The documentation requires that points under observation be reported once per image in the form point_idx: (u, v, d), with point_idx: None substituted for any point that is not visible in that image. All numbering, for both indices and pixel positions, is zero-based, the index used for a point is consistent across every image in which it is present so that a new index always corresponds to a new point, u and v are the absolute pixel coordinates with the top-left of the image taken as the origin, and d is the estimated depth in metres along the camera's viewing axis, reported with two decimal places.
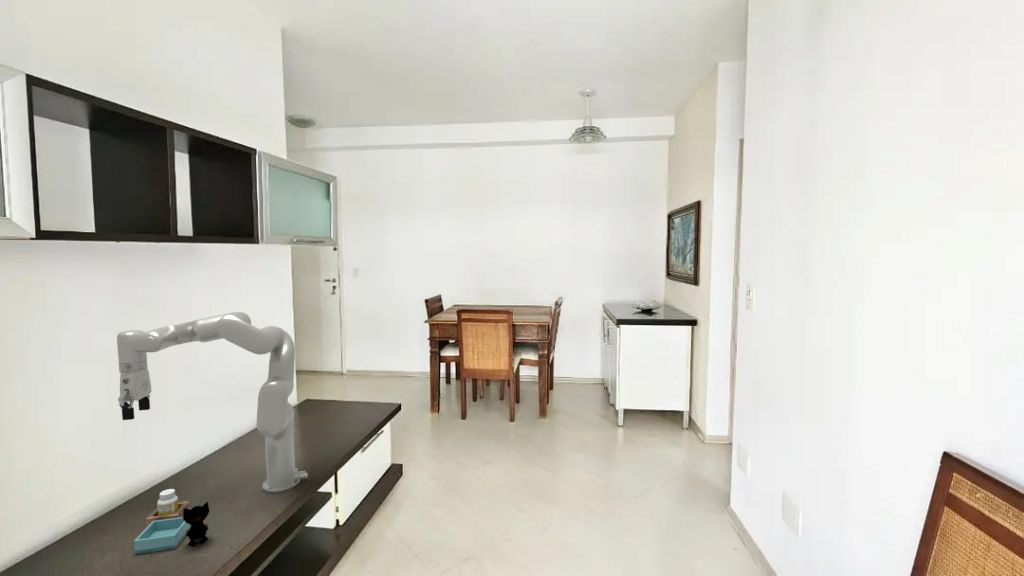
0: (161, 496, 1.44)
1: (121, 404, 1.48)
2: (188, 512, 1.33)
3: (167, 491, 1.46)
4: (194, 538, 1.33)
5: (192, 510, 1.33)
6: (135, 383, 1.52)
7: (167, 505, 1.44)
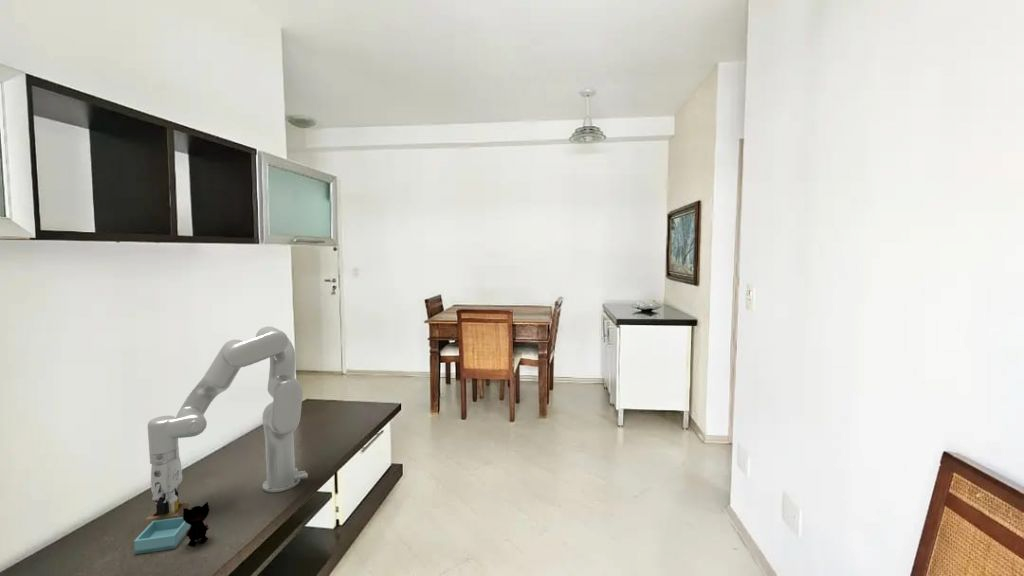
0: (161, 496, 1.44)
1: None
2: (188, 512, 1.33)
3: None
4: (194, 538, 1.33)
5: (192, 510, 1.33)
6: (167, 475, 1.42)
7: None
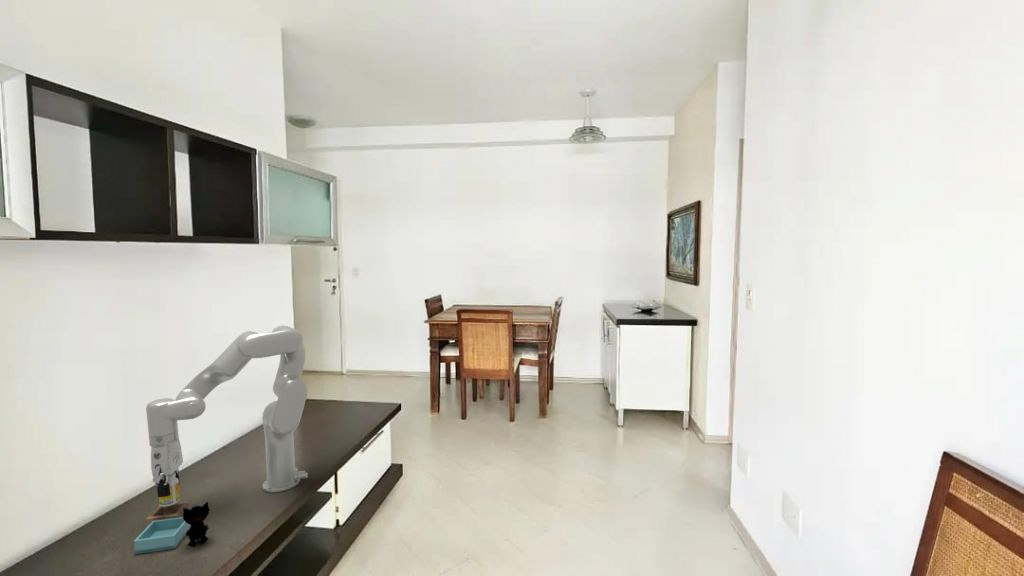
0: (162, 478, 1.44)
1: None
2: (188, 512, 1.33)
3: None
4: (194, 538, 1.33)
5: (192, 510, 1.33)
6: (167, 457, 1.42)
7: None
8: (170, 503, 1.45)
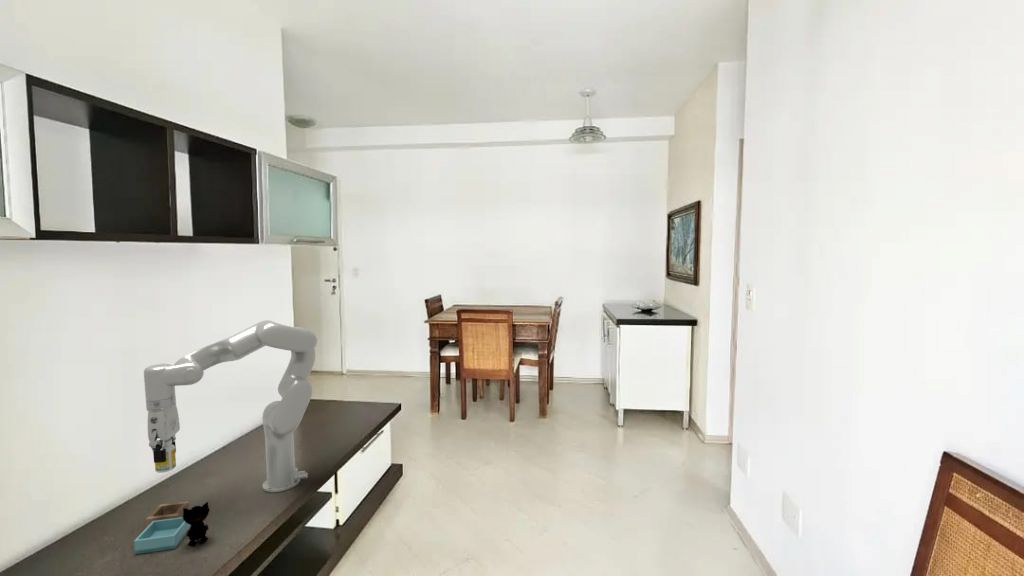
0: None
1: None
2: (188, 512, 1.33)
3: None
4: (194, 538, 1.33)
5: (192, 510, 1.33)
6: (164, 422, 1.41)
7: None
8: (166, 469, 1.43)
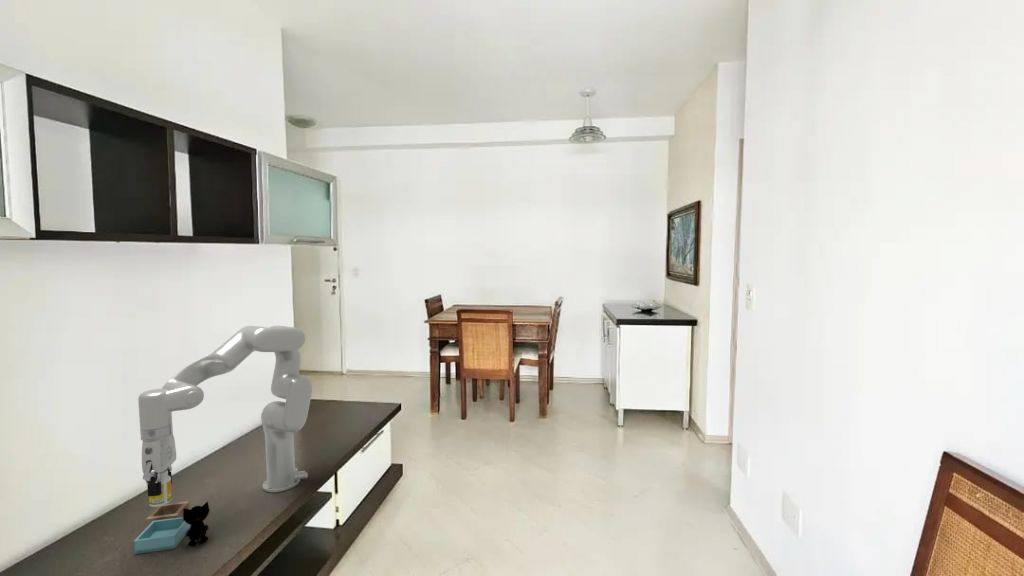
0: (153, 476, 1.33)
1: None
2: (188, 512, 1.33)
3: None
4: (194, 538, 1.33)
5: (192, 510, 1.33)
6: (159, 453, 1.30)
7: None
8: (161, 503, 1.33)
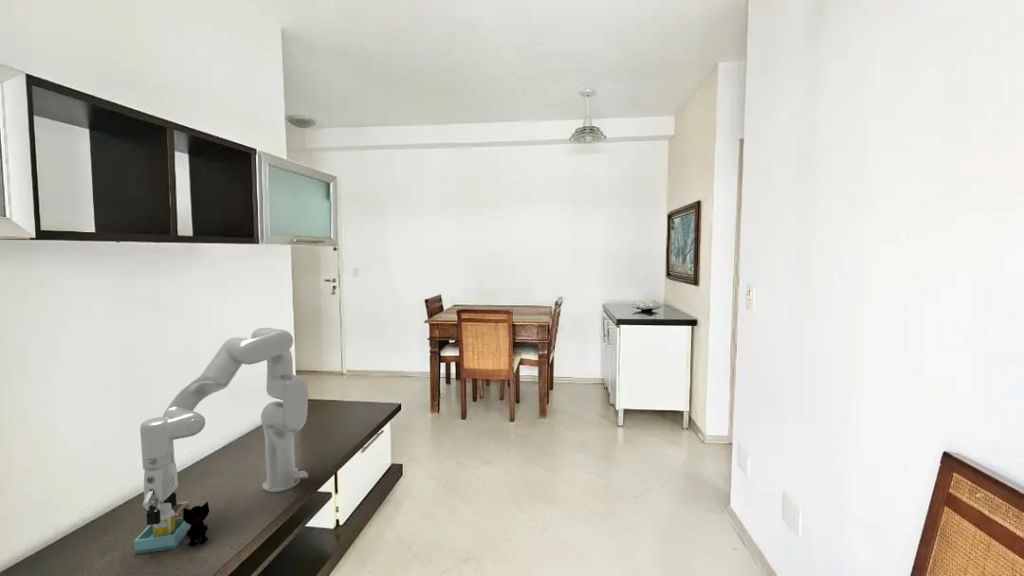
0: None
1: (146, 509, 1.28)
2: (188, 512, 1.33)
3: (163, 505, 1.36)
4: (194, 538, 1.33)
5: (192, 510, 1.33)
6: (162, 482, 1.31)
7: (163, 520, 1.34)
8: None
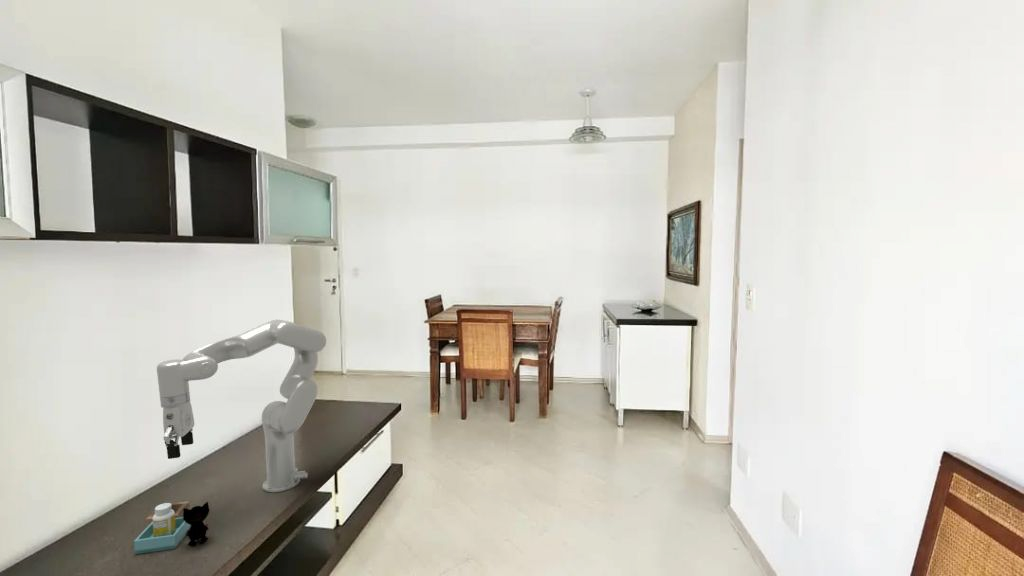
0: (156, 511, 1.34)
1: (167, 442, 1.36)
2: (188, 512, 1.33)
3: (163, 505, 1.36)
4: (194, 538, 1.33)
5: (192, 510, 1.33)
6: (180, 418, 1.39)
7: (163, 520, 1.34)
8: None
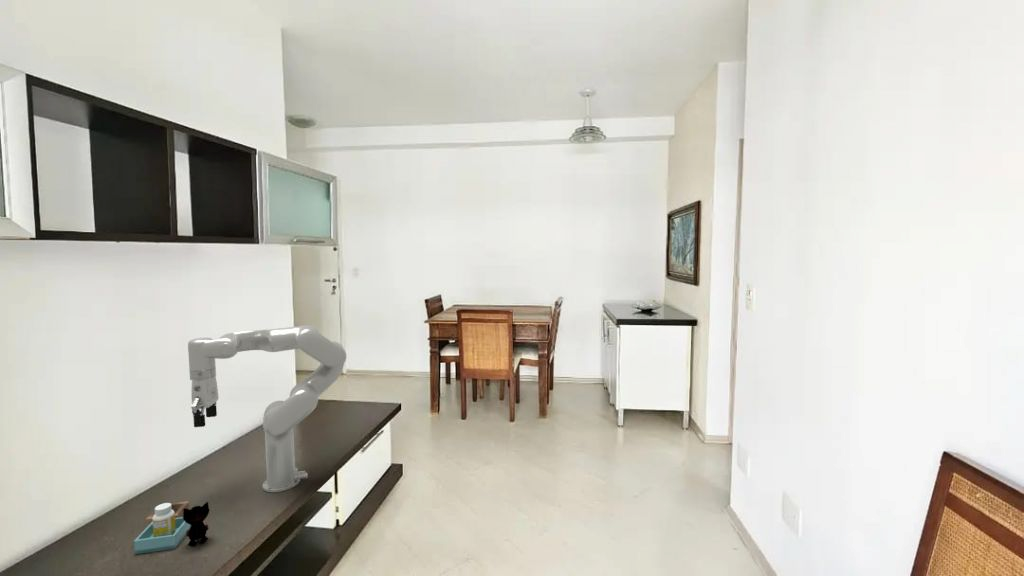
0: (156, 511, 1.34)
1: (194, 411, 1.49)
2: (188, 512, 1.33)
3: (163, 505, 1.36)
4: (194, 538, 1.33)
5: (192, 510, 1.33)
6: (206, 391, 1.53)
7: (163, 520, 1.34)
8: None
